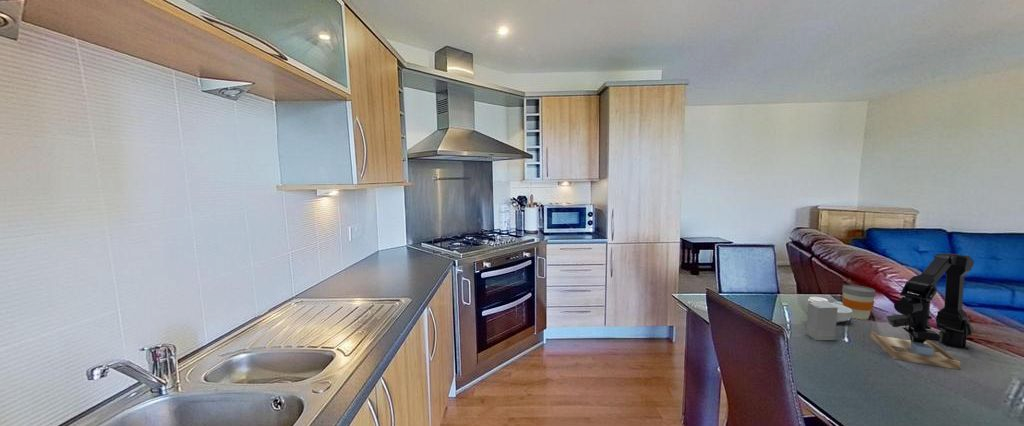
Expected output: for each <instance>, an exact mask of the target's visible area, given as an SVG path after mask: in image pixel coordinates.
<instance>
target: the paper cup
mask: <svg viewBox="0 0 1024 426" xmlns="http://www.w3.org/2000/svg"><path fill="white" fill-rule="evenodd" d="M807 301H808V303H809V302H811V303H814V302H816V303H817V302H827V303H830V302H829V300H828V299H827V298H824V297H820V296H809V298H808V299H807Z"/></svg>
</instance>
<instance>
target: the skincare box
mask: <svg viewBox="0 0 1024 426" xmlns="http://www.w3.org/2000/svg"><path fill="white" fill-rule="evenodd" d="M830 303H831V302H829V303H827V302H817V303H816V302H814V303H811V302H809V301H808V303H807V304H808V306H807V320H806V333H805V334H806V335H807V337H810V338H812V339H813V340H815V341H836V333H837V331H836V330H837V323H838V322H837V310H838V308H837V307H836V306H834V305H832V304H830ZM836 322H837V323H836Z"/></svg>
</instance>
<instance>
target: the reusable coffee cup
mask: <svg viewBox="0 0 1024 426" xmlns="http://www.w3.org/2000/svg"><path fill="white" fill-rule="evenodd" d="M841 292H842V296H841V301H842V306H846V307H848V308H850V309H851V310H852V311H853V312H852V316H851V318H852V319H858V320H869V318H870V315H871V311H872V310H873V307H874V305H875V297H876V290H875V289H874V288H872V287H867V286H863V285H855V284H844V285H842V288H841Z"/></svg>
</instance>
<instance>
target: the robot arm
mask: <svg viewBox="0 0 1024 426" xmlns="http://www.w3.org/2000/svg"><path fill="white" fill-rule="evenodd" d="M974 264H975V261H974V259H973V258H972V257H970V255H964V254H963V255H962V254H957V253H950V252H947V253H936V254H935V255H934V257H933V260H932V261H930V263H929V264H928V265H927V266H926V267H925V269H924V270H923V271H922V273H920V274H918V275H914V276H912V277H911V278H910V279H908V280H907V281H905V283H904V286H903V288H902V289H901V292H900V293H899V296H902V297H901V299H898V300H896V301H895V302H894V304H893V307H894V310H895V311H897V313H899V314H893V315H887V316H886V319H887V321H888V324H889V325H890V326H891V327H893V328H900V327H902V329H903V330H904V331H905V332H906V333H907V334H908V337H909V340H911V342H918V343H924V342H925V341H926V340H930V341H932V342H939V343H942V344H943V345H944V346H946V347H947V346H948V347H954V348H961V349H967V350H968V349H969V346H967V337H968V336H972V335H973V331H974V328H973V326H972V325H971V323H970V321H969V315H968V314H967V313H966V312H965V311H964V309H963V301H964V300H963V299H964V290H965V289H964V288H965V287H964V285H965V276H966V275H967V274H968V273H969V272H970V271H972V269H973V266H974ZM944 274H946V275H945V276H946V277H945V278H946V279H945V291H944V293H945V294H944V304H943V305H944V306H943V308H941V309H940V310H939V311H937V313H936V317H935V322H936V329H937V328H938V329H940V330H941V331H939V333H937V332H936V331H934V330H931V329H932V327H931V326H930V325H929V321H930V320H932V318H933V317H932V316H931V315H930V310H931V309H930V308H931V301H933V298H934V297H935V295H937V292H938V286H937V283H938V281H940V279H941V278H942V277H943V275H944Z"/></svg>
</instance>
